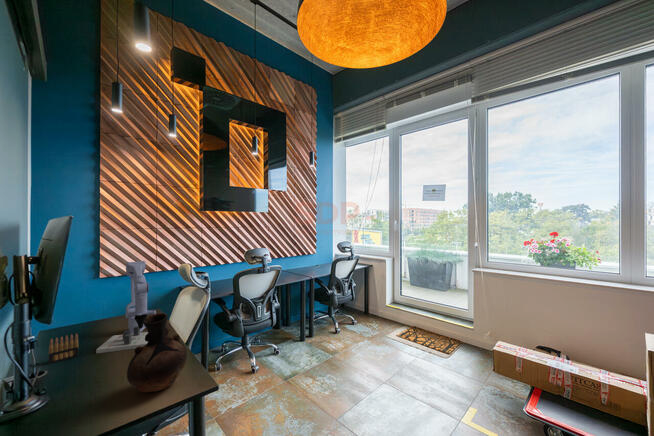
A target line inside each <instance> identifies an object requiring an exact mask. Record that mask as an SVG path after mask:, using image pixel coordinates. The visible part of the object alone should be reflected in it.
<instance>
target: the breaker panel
mask: <svg viewBox="0 0 654 436" xmlns="http://www.w3.org/2000/svg"><path fill="white" fill-rule="evenodd" d="M147 333H148V331H144V332H143V331H142V332H141V333H140V334H139V335H134V334H132V342H131V343H130V344H124V340H123V334H118V335H117V334H116V335H112V336H111V337H110V338H108V339H107V340H106V341H105V342H104V343H102V344H101V345H100V346H99V347H98V348H97V349H96V351H95V352H96V353H95V354H103V353H111V352H121V351H125V350H126V351H127V350H135V349H136V348H137V347H139V346H141V347H143V346H144V345H145V344H147V343H148V342H147V341H145V336H146V335H147Z"/></svg>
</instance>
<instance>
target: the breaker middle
mask: <svg viewBox="0 0 654 436" xmlns="http://www.w3.org/2000/svg"><path fill="white" fill-rule="evenodd" d="M126 334H130V330H128V329H127V330H125V331H122V335H123V340H124V336H125V335H126Z"/></svg>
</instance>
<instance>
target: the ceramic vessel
mask: <svg viewBox="0 0 654 436" xmlns="http://www.w3.org/2000/svg"><path fill="white" fill-rule="evenodd" d="M167 320H168V314H167V313H164V312H161V313H157V312H156V314H152V315H148V316H147V317H146V319H145V320H144V321H143V323H144V327H146V328H145V329H146V330H147V331H146V332H148V333H147V335H146V336H145V341H147V342H148V343H147V344H145V345H144V346H143V347H141V346H139V347H137V348H136V349H134V355H133V357H132V358H131V360H130V361H129V363H128V366H127V370H126V371H127V372H126V378H127V381H128V382H129V384H130V386H131V387H132V388H133V389H134V390H136V391H138V392H141V393H153V392H158V391H162V390H163V389H166V388H168V387H169V386H171V385H172V384H173V383H174V382H176V380H177V379H178V378H179V376H180V375H181V373H182V372H183V371H184V368H185V366H186V364H187V359H188V353H187V348H186V346H185V345H184V343H183V342H182V341H181V340H180V339H181V337H180V336H179V334H178V333H175V334H174V335H173V336H172V337H169V336H168V335H169V331H170V330H169V329H168V327H167V322H168V321H167Z"/></svg>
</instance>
